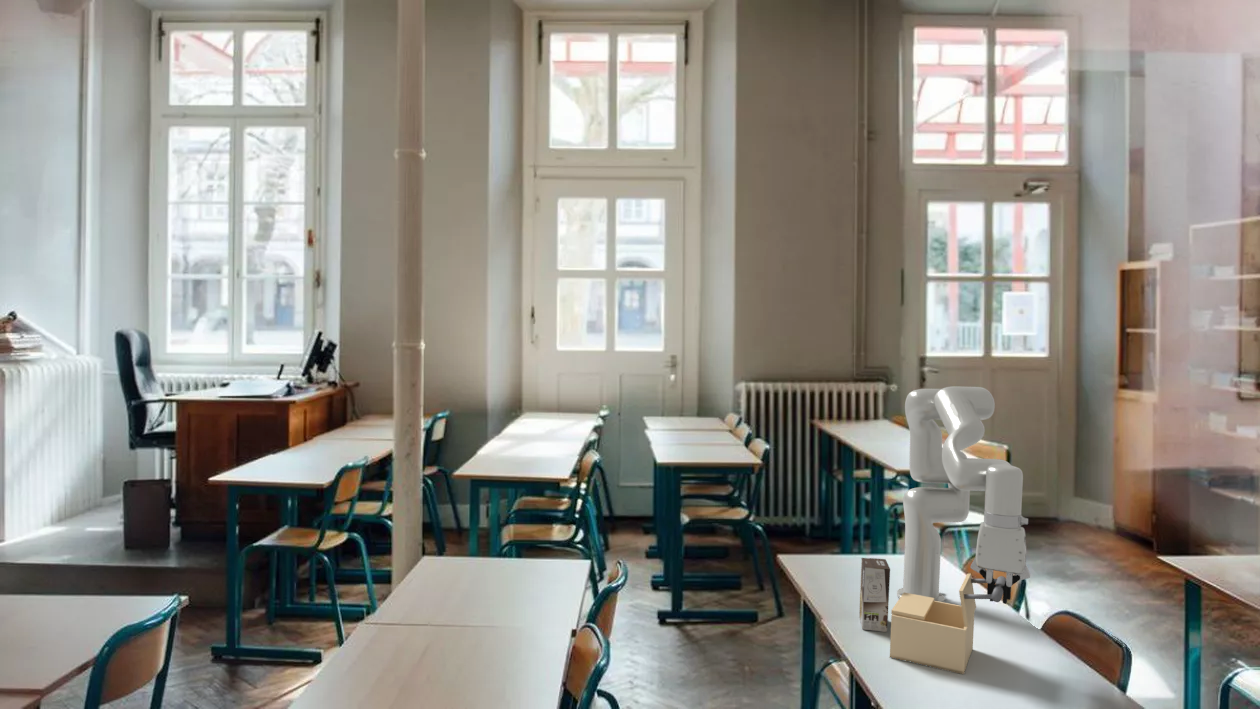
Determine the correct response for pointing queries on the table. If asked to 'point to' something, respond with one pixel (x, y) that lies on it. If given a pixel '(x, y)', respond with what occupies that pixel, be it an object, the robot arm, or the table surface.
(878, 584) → the coffee box
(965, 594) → the flap
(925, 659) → the carton
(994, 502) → the robot arm
